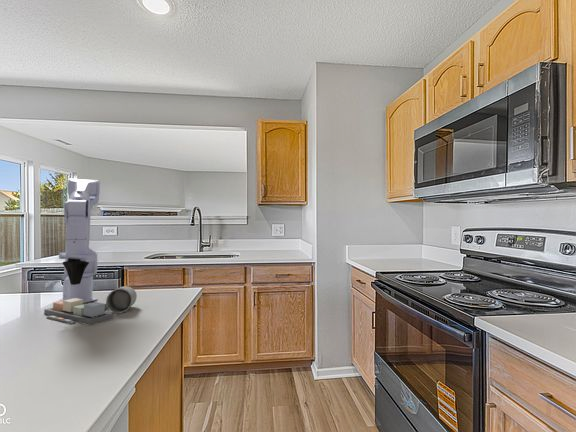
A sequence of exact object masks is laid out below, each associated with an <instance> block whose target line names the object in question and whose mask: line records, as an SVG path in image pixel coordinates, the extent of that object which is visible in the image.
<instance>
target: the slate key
mask: <svg viewBox="0 0 576 432" xmlns="http://www.w3.org/2000/svg"><path fill="white" fill-rule="evenodd" d="M84 304H85V305H84V315H85V316H89V317H94V316H98V315H102V314H104V312H106V309H105V304H106V303H103V302H99V301H96V302H95V301H93V302H91V303H90V302H89V303H84ZM94 318H95V317H94Z"/></svg>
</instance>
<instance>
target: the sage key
mask: <svg viewBox="0 0 576 432" xmlns="http://www.w3.org/2000/svg"><path fill="white" fill-rule="evenodd" d="M85 304H86V303H83V305H79V306H74V307H73V315H78V316H82V315H84V305H85Z"/></svg>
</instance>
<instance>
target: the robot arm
mask: <svg viewBox="0 0 576 432" xmlns="http://www.w3.org/2000/svg"><path fill="white" fill-rule="evenodd" d="M100 185H101V181H99V180H98V179H84V178H83V179H82V178H81V179H80V178H72V177H71V178H69V179H68V180H67V194H68V200H67V201H65V202H64V205H63V214H64V225H65V241H64V252H63V251H62V252H58V259H59V260H64V261H62V265H63V274H64V275H65V276H66V278H65V279H64V280H63V282H62V283H63V284H62V299H59V301H63V300H68V299H73V298H78V299H83V304H87V303H90V302H91V303H92V302H95V301H98V300H99V299H98V298H96V297H93V284H94V282H93V281H94V275H97V272H98V254H97V252H96V251H94V250H93V249H92V248H90V236H91V235H90V234H91V233H90V231H91V213H92V210H93V207H94V206H95V205H98V204H99V201H100V193H101V192H100V190H101V189H100V188H101V187H100Z"/></svg>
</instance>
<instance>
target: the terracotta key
mask: <svg viewBox="0 0 576 432" xmlns="http://www.w3.org/2000/svg"><path fill="white" fill-rule="evenodd" d="M52 308H53V310H56V311H62V310H63V301H60V300H58V301H55V302H53V304H52Z"/></svg>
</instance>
